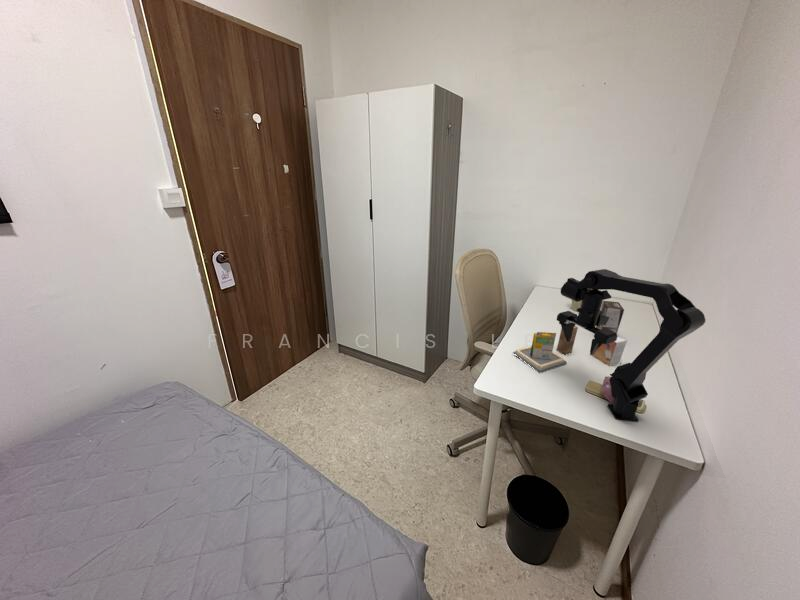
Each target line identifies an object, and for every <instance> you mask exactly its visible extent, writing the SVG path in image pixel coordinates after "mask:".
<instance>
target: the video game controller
mask: <svg viewBox="0 0 800 600" xmlns="http://www.w3.org/2000/svg"><path fill="white" fill-rule="evenodd" d="M610 377H611V376H610V375H609V376H605V377H604V379H603V380H602V381H603V383H602V384H601V386H600V387H601V393H602V395H603V396H604V397H605V399H607V400H608V402H610V404H613V402H614V399H615V398H613V397H612V393H611V385H610V382H609V379H610Z"/></svg>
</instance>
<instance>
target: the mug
mask: <svg viewBox="0 0 800 600" xmlns="http://www.w3.org/2000/svg"><path fill="white" fill-rule="evenodd" d="M591 290H592V289H591ZM581 303H582V300H581V301H579V302H576V301H574V300H572V299H571V305H572V306H571V307H572V311H575V312H577V308H580V307H581Z"/></svg>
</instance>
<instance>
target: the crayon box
mask: <svg viewBox="0 0 800 600" xmlns="http://www.w3.org/2000/svg"><path fill="white" fill-rule="evenodd" d="M556 337H557V333H556V332H545V331H537V332H534V333H533V337H532V343H531V346H532V347H531V352H530V355H531V357H532V358H540V359H551V356H552V351H553V352H554V346H555V341H556Z"/></svg>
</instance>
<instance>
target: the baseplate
mask: <svg viewBox="0 0 800 600" xmlns="http://www.w3.org/2000/svg"><path fill="white" fill-rule="evenodd" d="M531 347H532V345H529V346H525V347H522V348H518V349H516V350H515V351H513V352H512V354H513V353H514V354H516V355H517V356H518V357H520V358H521V359H522V360H523V361H525V362H526V363H527V364H529V365H530V366H531V367H530V366H529V365H528V366H529V367H530V368H532V367H533V368H534V369H535V371H536V370H537V371H538V372H537V371H536V372H537V373H539V374H541V373H544V371H545V372H547V370H548V371H551V370H554V369H556V368H560V367H563V366H566V365H567V363H568V362H567V361H566V359H565V358H564V357H562V356H561V355H559V354H557V353H556V352H554V350H553V351H552V356H551V359H540V358H532V357H531V355H530V352H531ZM522 360H521V361H522ZM523 361H522V362H523ZM526 363H525V364H526ZM527 364H526V365H527ZM533 368H532V369H533ZM534 369H533V370H534ZM550 369H551V370H550ZM540 372H541V373H540Z"/></svg>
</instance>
